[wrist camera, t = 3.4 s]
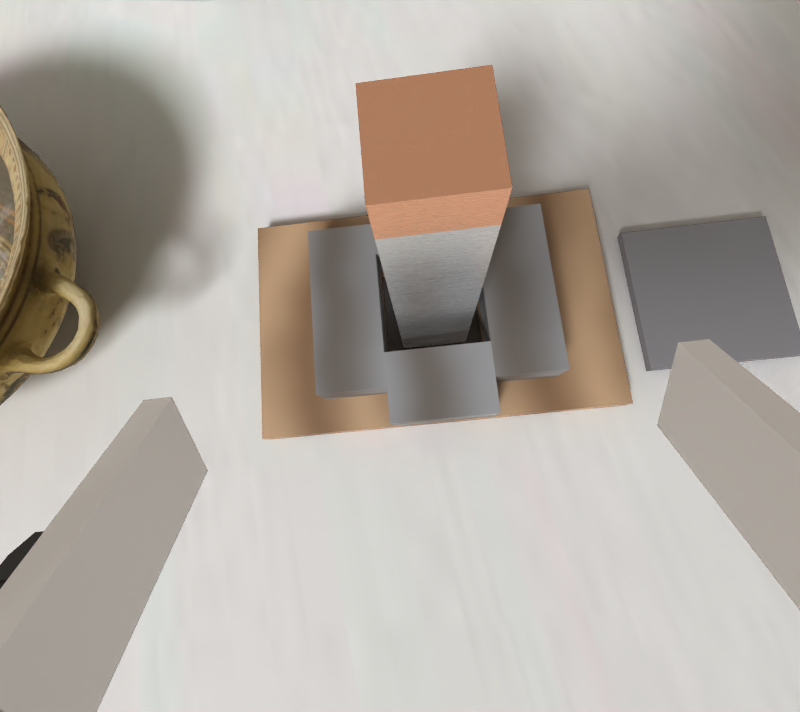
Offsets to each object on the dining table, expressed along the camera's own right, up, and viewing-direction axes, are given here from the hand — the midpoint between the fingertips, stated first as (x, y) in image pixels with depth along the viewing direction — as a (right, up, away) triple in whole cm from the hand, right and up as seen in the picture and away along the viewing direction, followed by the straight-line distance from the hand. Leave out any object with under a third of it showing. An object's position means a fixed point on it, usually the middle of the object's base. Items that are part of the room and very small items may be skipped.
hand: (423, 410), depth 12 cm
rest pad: (+19, +5, +16) cm, 25 cm away
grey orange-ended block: (+1, +4, +17) cm, 18 cm away
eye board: (+1, +4, +17) cm, 18 cm away
